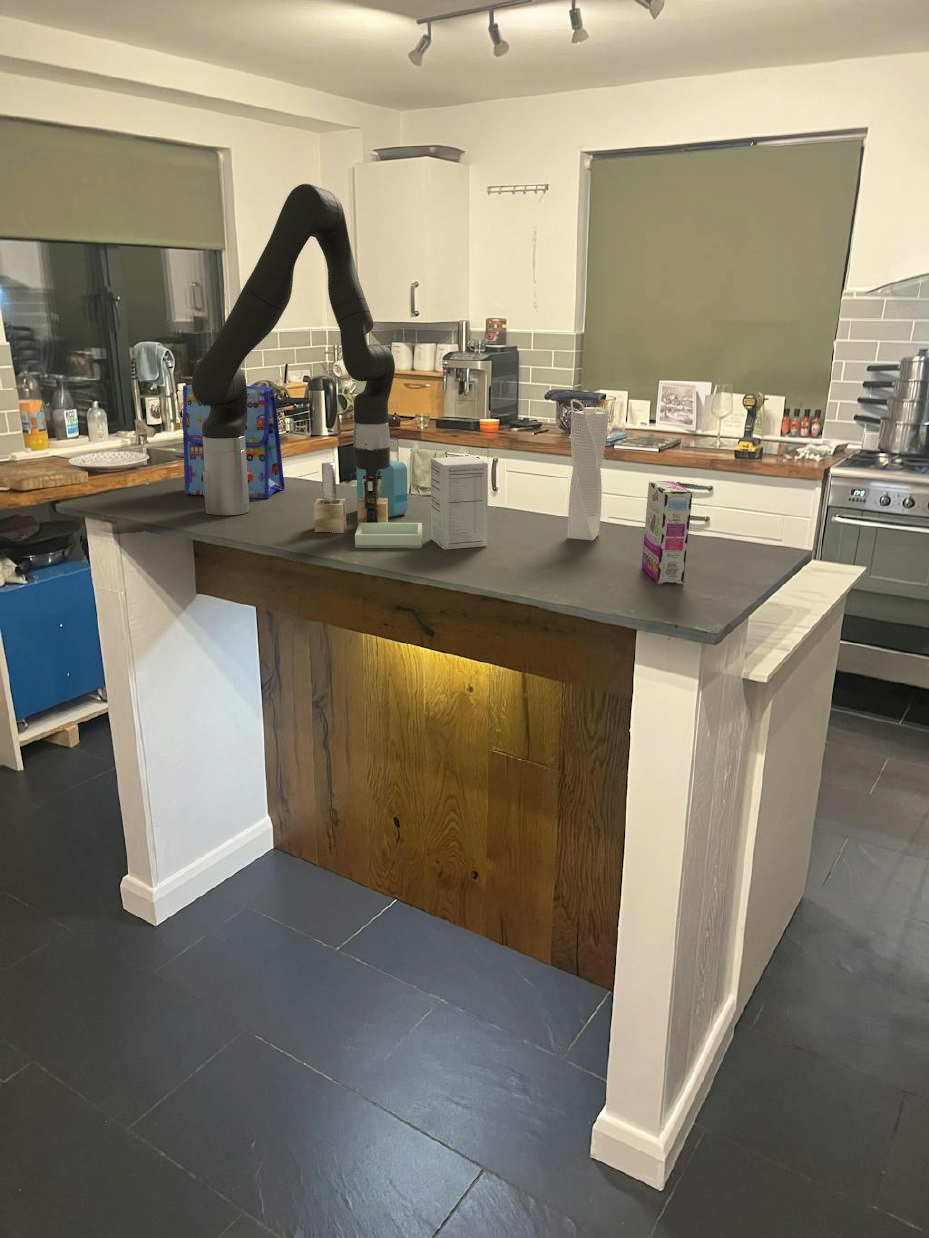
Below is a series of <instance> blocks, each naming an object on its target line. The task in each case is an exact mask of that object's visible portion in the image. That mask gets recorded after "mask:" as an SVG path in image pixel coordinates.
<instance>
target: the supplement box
mask: <svg viewBox="0 0 929 1238" xmlns="http://www.w3.org/2000/svg"><path fill="white" fill-rule="evenodd" d="M488 471H489V464H488V462H486V461H484V460H482V459H480V458H478V457H476V456H475V455H465V456H448V457H447V456H446V457H432V458H430V512H431V513H430V517H431V519H430V521H431V523H430V526H431V528H430V529H431V540H432V541H433V542H434V543H436V544H437V545H438V546H439V547H441V549H443V550H446V551H447V550H453V549H454V550H455V549H456V550H457V549H466V548H467V549H469V548H480V547H488V506H489V505H488V504H489V503H488V501H489V499H488V498H489V496H488V495H489V494H488V493H489V492H488V490H489V487H488V481H489V479H488V478H489V477H488V476H489V475H488V473H489V472H488Z"/></svg>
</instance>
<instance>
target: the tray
mask: <svg viewBox="0 0 929 1238" xmlns="http://www.w3.org/2000/svg"><path fill="white" fill-rule="evenodd" d="M422 541H423V522H388V523H359V525H358V524H357V528H356V530H355V534H354V548H355V549H422V543H423V542H422Z"/></svg>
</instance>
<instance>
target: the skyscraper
mask: <svg viewBox="0 0 929 1238" xmlns="http://www.w3.org/2000/svg"><path fill="white" fill-rule="evenodd" d="M574 402H575V403H577V404H578V405H580V407H581V408H582V411H575V410H574ZM570 410H571V417H570V418H571V419H570V420H571V421H570V452H571V453H570V455H571V465H572V473H571V479H570V480H571V481H570V487H569V496H568V500H569V501H568V511H567V515H568V516H567V539H574V540H575V539H576V540H586V541H594V540H595V539H596V538H597V536H599V535H600V528H601V527H600V526H601V516H602V498H603V497H602V496H603V495H602V493H603V492H602V490H603V489H602V488H603V487H602V470H601V467H602V463H603V459H604V455H605V454H604V453H605V449H606V443H607V435H608V434H607V433H608V425H609V411H608V410H607V409H606V408H603V407H599V406H595V407H591V406H590V407H585V405H584V404H583V403H582V402H581V401H580V400H578V399H574V398H573V399H571V400H570ZM598 410H599V411H598Z"/></svg>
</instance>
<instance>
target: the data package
mask: <svg viewBox="0 0 929 1238" xmlns="http://www.w3.org/2000/svg"><path fill="white" fill-rule="evenodd" d="M355 468H356V467H355ZM379 470H380V472H381V474H380V475H382V485H381V486H382V493H381V497H380V498H388V518H393V517H394V518H395V517H398V516H402V515H405V514H406V513H407V511H408V467H407V465H406V464H405V463H404V462H403V461H398V460H391V459H390V466H389V467H388V468H386V469H379ZM364 475H366V471H365V470H364V469H358V468H356V499H357V501H356V502H357V503H356V504H358V501H359V499H360V498H364V497H363V490H364V486H363V484H362V478H363V476H364Z"/></svg>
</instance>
